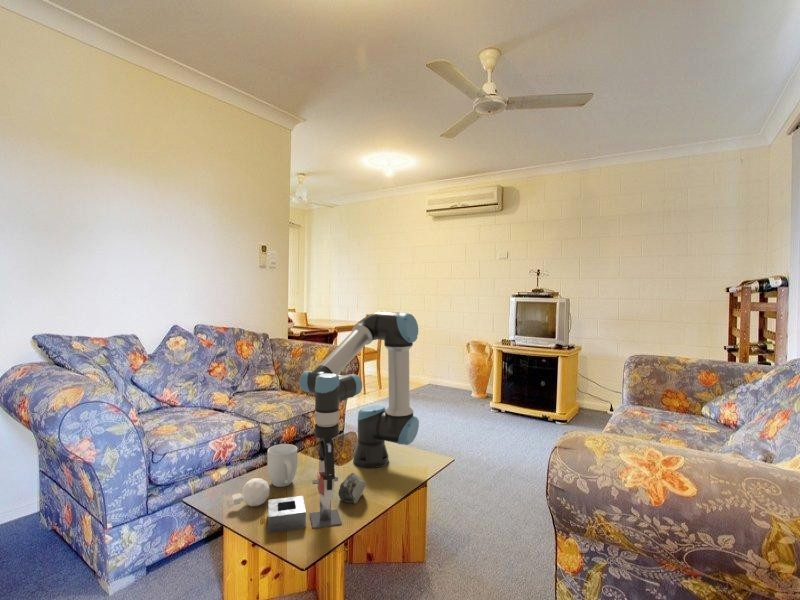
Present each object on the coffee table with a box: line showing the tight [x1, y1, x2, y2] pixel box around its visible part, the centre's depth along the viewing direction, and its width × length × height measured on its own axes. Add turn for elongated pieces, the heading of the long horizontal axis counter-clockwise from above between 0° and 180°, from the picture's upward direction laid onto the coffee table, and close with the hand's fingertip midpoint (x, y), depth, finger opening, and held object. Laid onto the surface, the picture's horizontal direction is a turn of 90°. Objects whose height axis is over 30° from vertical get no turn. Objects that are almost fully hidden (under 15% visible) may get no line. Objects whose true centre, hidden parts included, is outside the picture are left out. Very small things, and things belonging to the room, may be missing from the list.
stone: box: [337, 472, 367, 504], centre depth 151 cm, size 10×10×10 cm
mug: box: [266, 443, 298, 488], centre depth 161 cm, size 15×11×13 cm
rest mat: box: [309, 509, 342, 530], centre depth 138 cm, size 9×9×1 cm
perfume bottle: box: [231, 477, 270, 507], centre depth 146 cm, size 9×9×12 cm
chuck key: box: [311, 471, 339, 521], centre depth 138 cm, size 8×4×14 cm, turn 107°
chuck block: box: [267, 495, 307, 534], centre depth 136 cm, size 11×11×5 cm
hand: (325, 489), depth 138 cm, fingers open, 13 cm apart
